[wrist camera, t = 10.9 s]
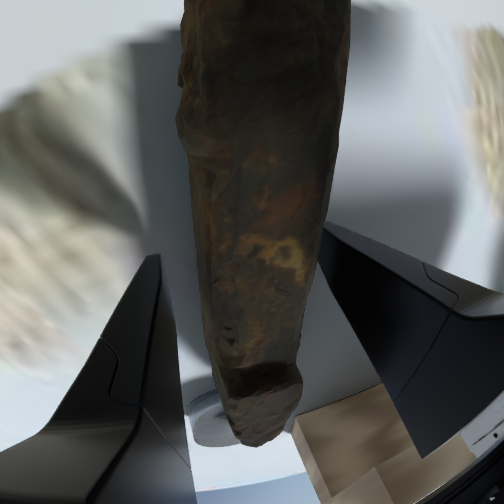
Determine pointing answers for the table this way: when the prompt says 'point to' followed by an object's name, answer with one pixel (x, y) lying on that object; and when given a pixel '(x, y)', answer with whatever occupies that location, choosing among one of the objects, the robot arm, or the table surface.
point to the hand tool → (260, 185)
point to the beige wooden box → (370, 453)
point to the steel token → (210, 421)
